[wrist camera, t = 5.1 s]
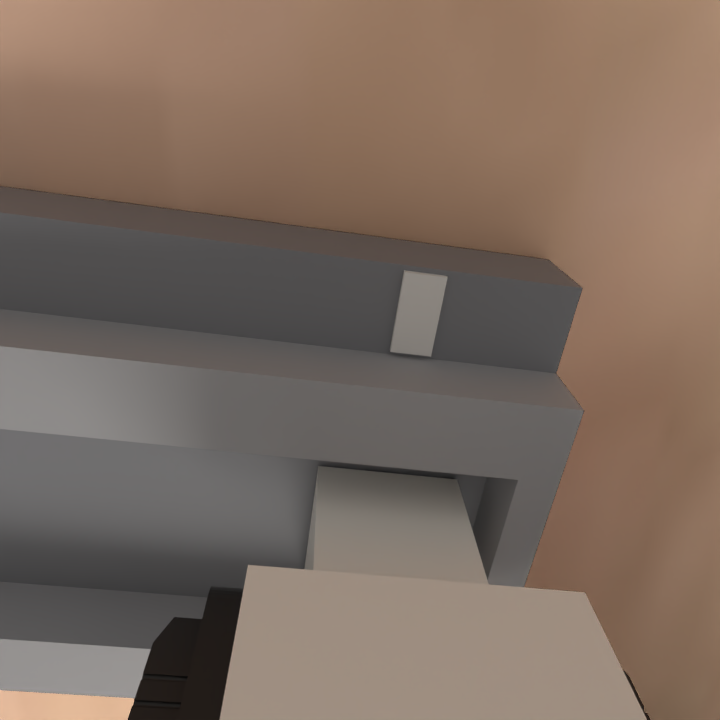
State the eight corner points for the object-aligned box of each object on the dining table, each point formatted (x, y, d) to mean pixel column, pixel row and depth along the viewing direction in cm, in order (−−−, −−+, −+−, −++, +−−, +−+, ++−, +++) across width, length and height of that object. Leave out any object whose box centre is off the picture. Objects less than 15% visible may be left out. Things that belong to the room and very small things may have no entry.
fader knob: (513, 445, 13) (693, 815, 6) (463, 616, 15) (559, 1026, 8) (274, 420, 12) (206, 792, 6) (257, 601, 14) (193, 1022, 8)
